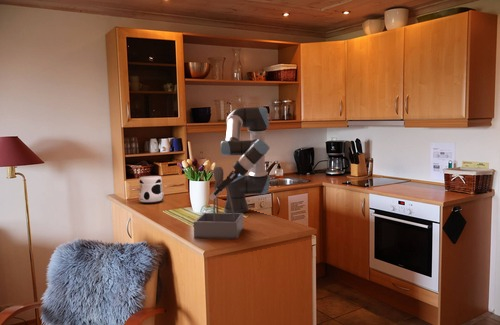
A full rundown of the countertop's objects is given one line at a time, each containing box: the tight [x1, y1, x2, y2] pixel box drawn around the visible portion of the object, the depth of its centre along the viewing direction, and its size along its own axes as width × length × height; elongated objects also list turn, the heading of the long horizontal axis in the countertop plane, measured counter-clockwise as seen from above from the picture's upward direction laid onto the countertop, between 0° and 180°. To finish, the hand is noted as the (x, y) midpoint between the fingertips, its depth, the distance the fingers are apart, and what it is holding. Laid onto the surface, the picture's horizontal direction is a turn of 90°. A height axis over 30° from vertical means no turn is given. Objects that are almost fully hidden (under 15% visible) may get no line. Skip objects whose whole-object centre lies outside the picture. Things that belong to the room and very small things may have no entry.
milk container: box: [138, 175, 165, 204], centre depth 296 cm, size 17×17×18 cm
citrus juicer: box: [212, 165, 235, 222], centre depth 208 cm, size 11×10×30 cm
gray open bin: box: [193, 212, 244, 240], centre depth 211 cm, size 20×21×8 cm
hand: (212, 197), depth 210 cm, fingers closed on citrus juicer, 9 cm apart
